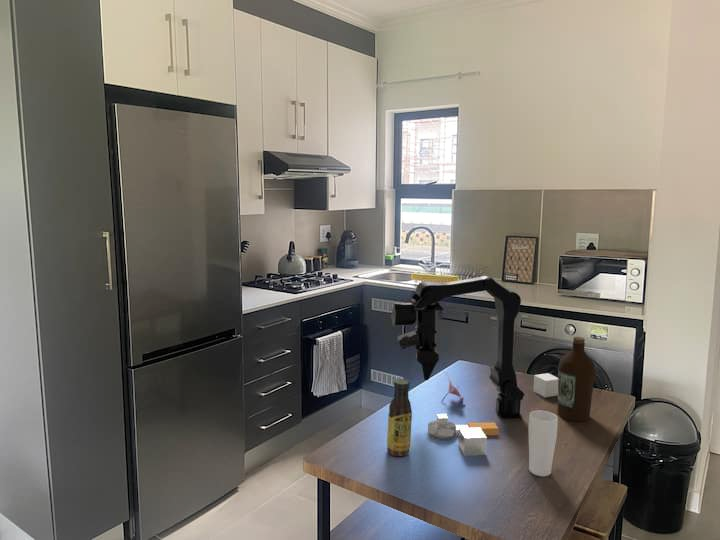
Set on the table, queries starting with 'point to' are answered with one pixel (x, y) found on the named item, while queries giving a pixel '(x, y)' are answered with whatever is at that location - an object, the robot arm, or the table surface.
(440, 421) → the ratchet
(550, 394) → the white cube
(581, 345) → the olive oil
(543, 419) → the drinking glass
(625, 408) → the table surface
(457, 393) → the lily
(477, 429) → the brushed metal cube
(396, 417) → the sauce bottle
